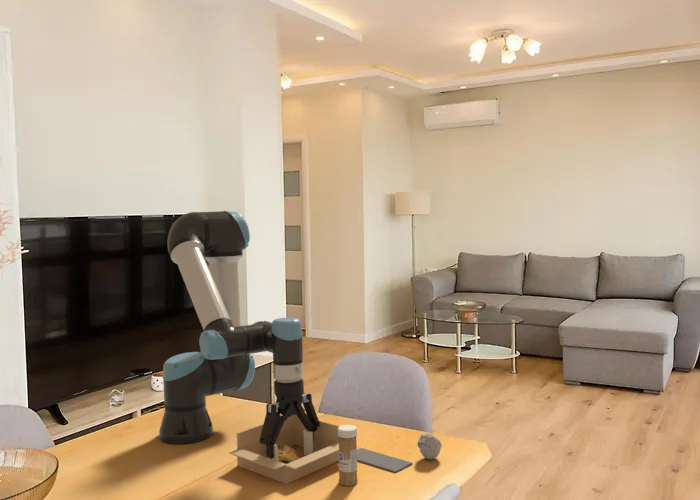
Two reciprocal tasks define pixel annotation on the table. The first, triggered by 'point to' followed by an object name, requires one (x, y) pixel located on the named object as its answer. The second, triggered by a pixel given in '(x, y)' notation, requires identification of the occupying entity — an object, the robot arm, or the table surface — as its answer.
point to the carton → (292, 434)
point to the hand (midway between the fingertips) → (291, 462)
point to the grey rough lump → (429, 446)
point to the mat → (381, 460)
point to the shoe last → (287, 454)
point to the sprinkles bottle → (347, 455)
